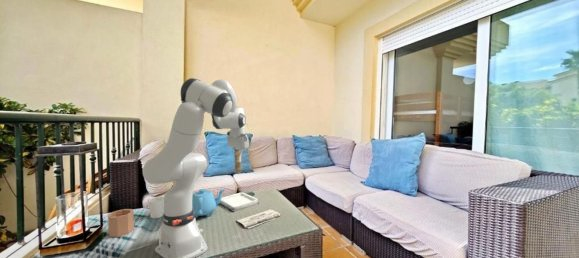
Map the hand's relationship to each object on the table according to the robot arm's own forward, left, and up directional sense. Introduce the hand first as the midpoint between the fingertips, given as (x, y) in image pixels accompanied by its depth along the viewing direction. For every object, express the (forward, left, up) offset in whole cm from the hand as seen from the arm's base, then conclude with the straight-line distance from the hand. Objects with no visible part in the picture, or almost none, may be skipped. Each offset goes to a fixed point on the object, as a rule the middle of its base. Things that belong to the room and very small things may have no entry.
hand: (238, 154), depth 142 cm
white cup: (+13, +43, -31) cm, 55 cm away
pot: (+5, +60, -31) cm, 68 cm away
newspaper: (-28, +4, -32) cm, 43 cm away
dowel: (0, 0, -12) cm, 12 cm away
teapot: (0, +23, -31) cm, 39 cm away
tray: (0, 0, -31) cm, 31 cm away
